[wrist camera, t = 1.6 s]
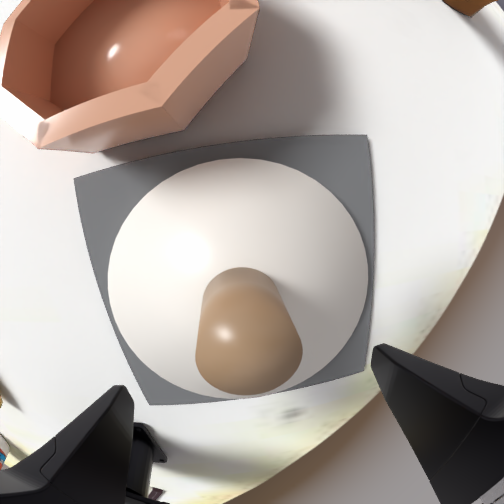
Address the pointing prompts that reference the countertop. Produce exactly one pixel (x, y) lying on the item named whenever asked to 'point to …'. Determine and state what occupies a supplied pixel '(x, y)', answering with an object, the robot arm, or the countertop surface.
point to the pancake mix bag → (468, 5)
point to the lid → (237, 278)
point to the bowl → (116, 67)
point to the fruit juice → (3, 450)
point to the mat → (272, 149)
